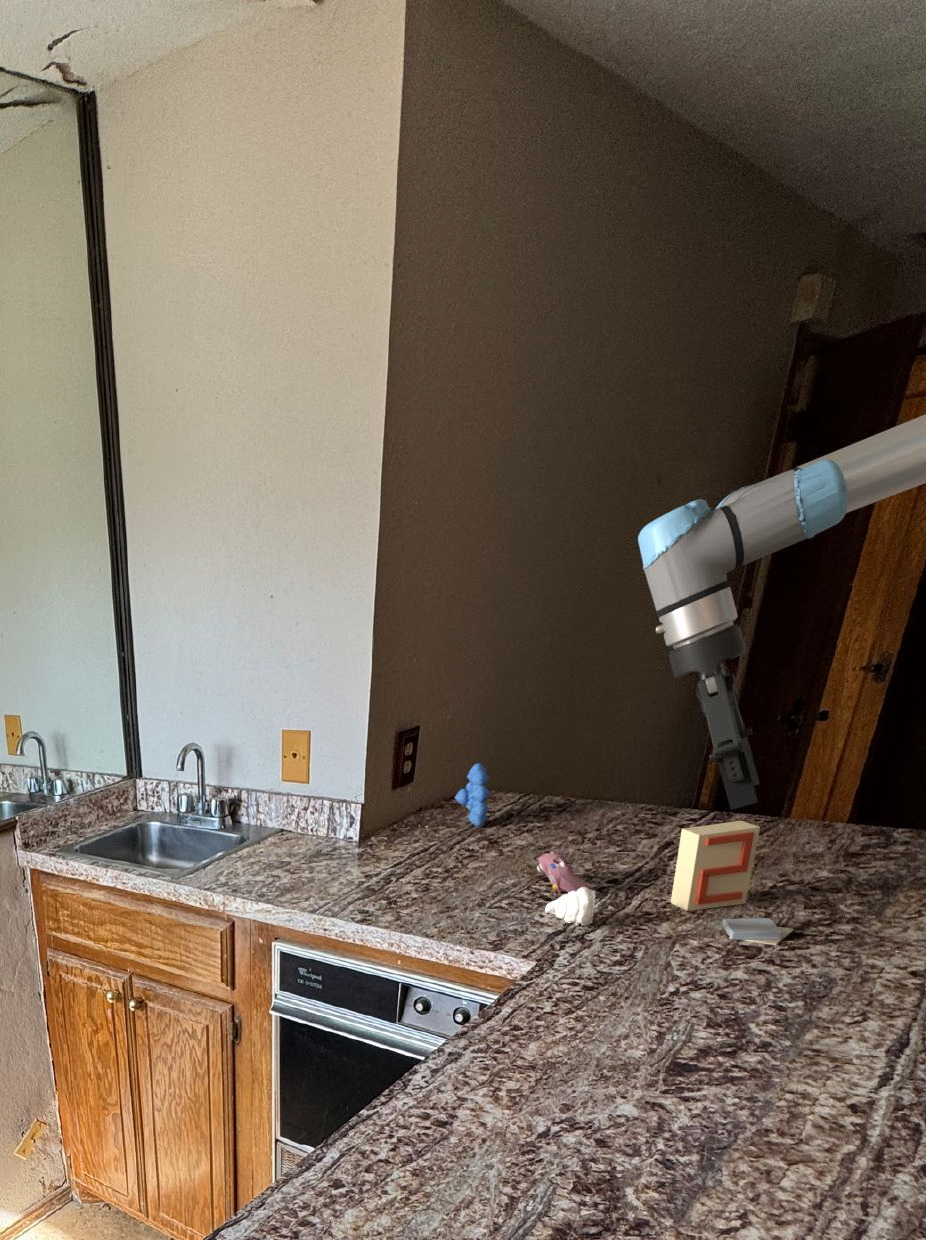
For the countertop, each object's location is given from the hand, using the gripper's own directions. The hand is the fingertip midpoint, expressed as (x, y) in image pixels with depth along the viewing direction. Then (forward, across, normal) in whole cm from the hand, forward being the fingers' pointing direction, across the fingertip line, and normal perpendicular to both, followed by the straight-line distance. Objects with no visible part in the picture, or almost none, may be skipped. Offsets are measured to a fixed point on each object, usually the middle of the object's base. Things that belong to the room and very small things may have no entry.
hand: (746, 796), depth 115 cm
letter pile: (+18, +10, -2) cm, 20 cm away
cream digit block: (+14, -7, -8) cm, 18 cm away
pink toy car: (+8, -10, -26) cm, 29 cm away
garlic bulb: (+10, +5, -23) cm, 26 cm away
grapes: (-3, -49, -46) cm, 68 cm away
